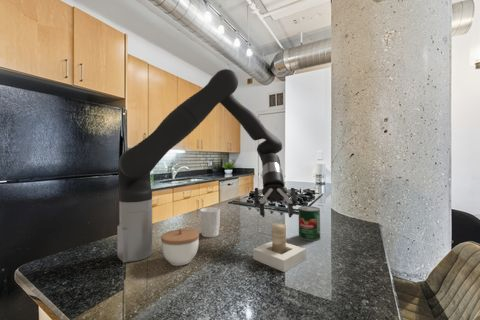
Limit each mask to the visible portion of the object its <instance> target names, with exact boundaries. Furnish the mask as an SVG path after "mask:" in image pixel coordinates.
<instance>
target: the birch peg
mask: <svg viewBox="0 0 480 320" xmlns="http://www.w3.org/2000/svg"><path fill="white" fill-rule="evenodd" d="M271 240H272V251H273V252H276V253H279V254H284V253H286V243H287V225H286V224H285V223H279V222H276V223H272V224H271Z"/></svg>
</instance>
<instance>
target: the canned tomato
mask: <svg viewBox="0 0 480 320" xmlns="http://www.w3.org/2000/svg"><path fill="white" fill-rule="evenodd" d="M297 214H298V238H300V239H301V240H304V241H309V242H310V241H311V242H316V241H319V240H321V238H322V237H321V208H320V207H317V206H311V205H309V206H307V205H302V206H299V207H298V213H297Z"/></svg>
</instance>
